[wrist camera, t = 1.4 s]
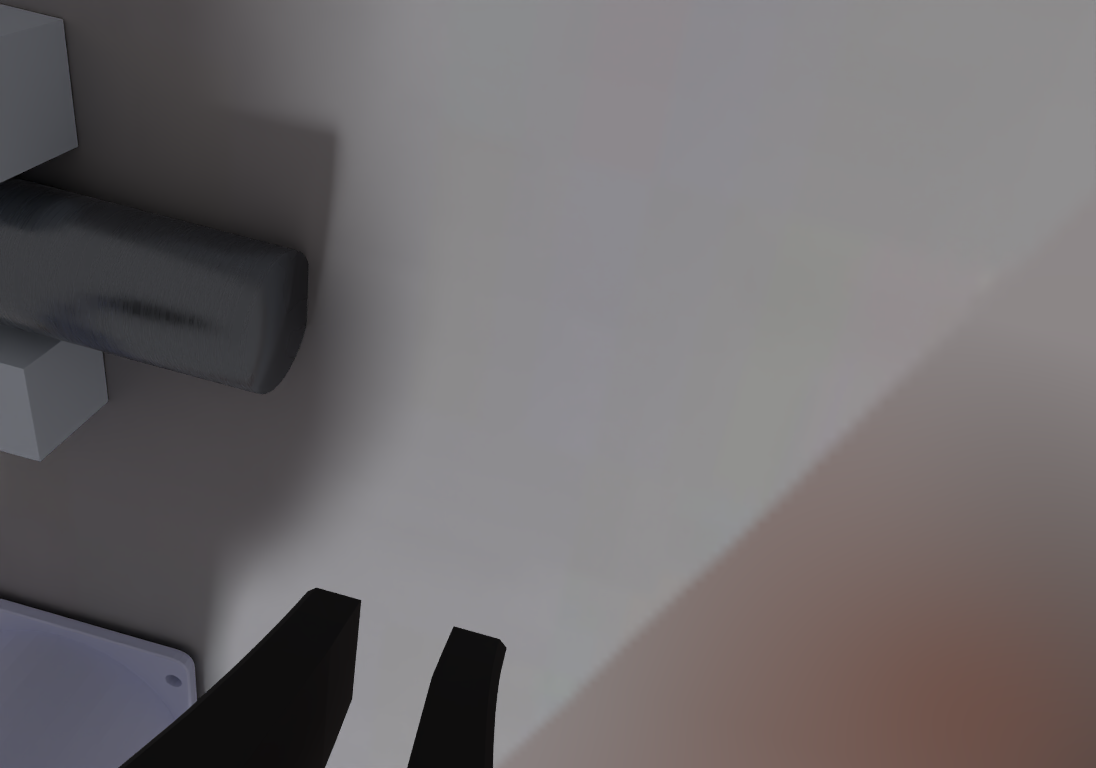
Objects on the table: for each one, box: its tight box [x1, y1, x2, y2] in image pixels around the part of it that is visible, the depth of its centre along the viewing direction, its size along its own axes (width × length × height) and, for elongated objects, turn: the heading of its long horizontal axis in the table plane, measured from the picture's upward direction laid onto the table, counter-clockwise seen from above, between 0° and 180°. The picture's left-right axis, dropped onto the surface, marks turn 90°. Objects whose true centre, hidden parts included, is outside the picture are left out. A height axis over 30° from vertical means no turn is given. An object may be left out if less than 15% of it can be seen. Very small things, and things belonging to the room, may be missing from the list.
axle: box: [0, 177, 308, 394], centre depth 18 cm, size 10×3×3 cm, turn 80°
